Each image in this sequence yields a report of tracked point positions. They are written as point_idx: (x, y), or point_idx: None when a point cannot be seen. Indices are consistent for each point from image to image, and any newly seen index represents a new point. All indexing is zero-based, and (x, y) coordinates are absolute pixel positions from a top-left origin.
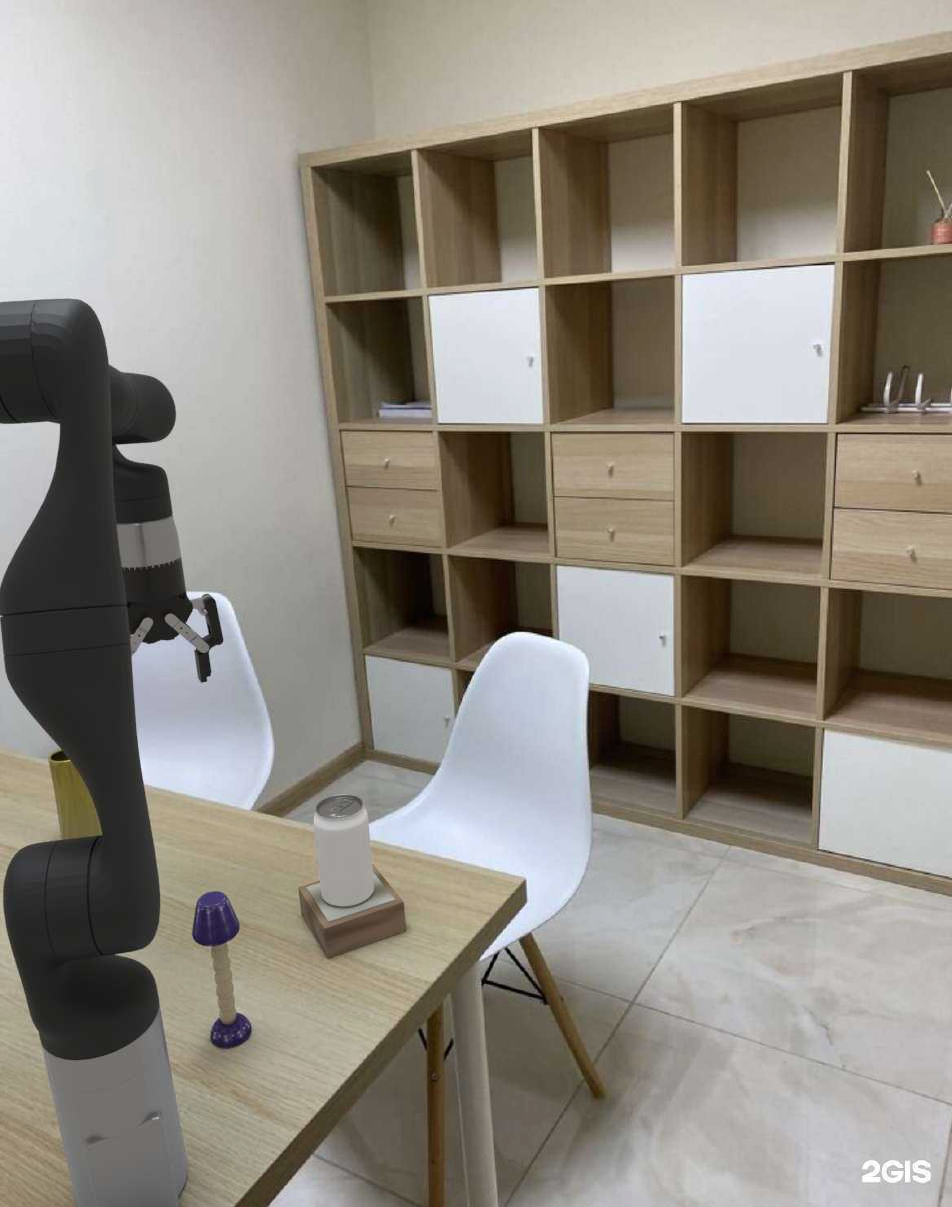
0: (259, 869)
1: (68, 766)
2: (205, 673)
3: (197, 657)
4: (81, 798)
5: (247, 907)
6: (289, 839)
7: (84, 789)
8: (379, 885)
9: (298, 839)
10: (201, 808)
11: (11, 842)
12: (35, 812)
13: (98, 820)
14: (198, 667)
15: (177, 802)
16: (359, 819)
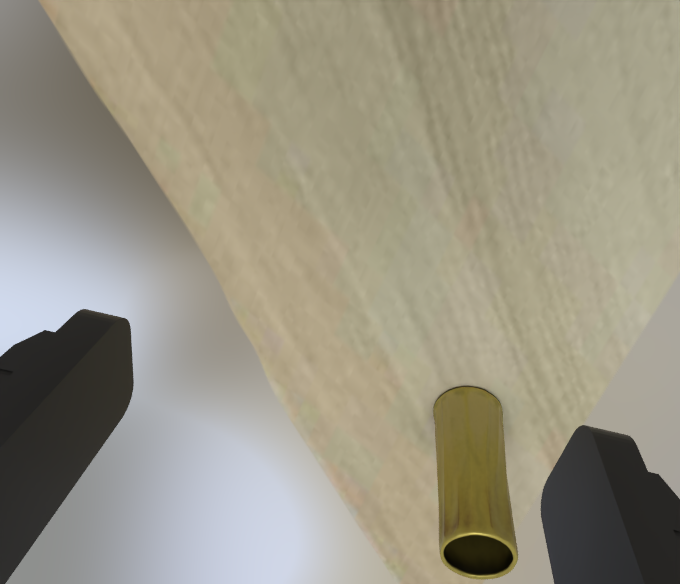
0: (271, 133)
1: (492, 524)
2: (53, 340)
3: (2, 474)
4: (474, 460)
5: (340, 18)
6: (190, 189)
7: (466, 472)
8: None
9: (176, 178)
10: (282, 377)
11: None
12: None
13: (447, 421)
14: (70, 415)
15: (306, 416)
16: None
